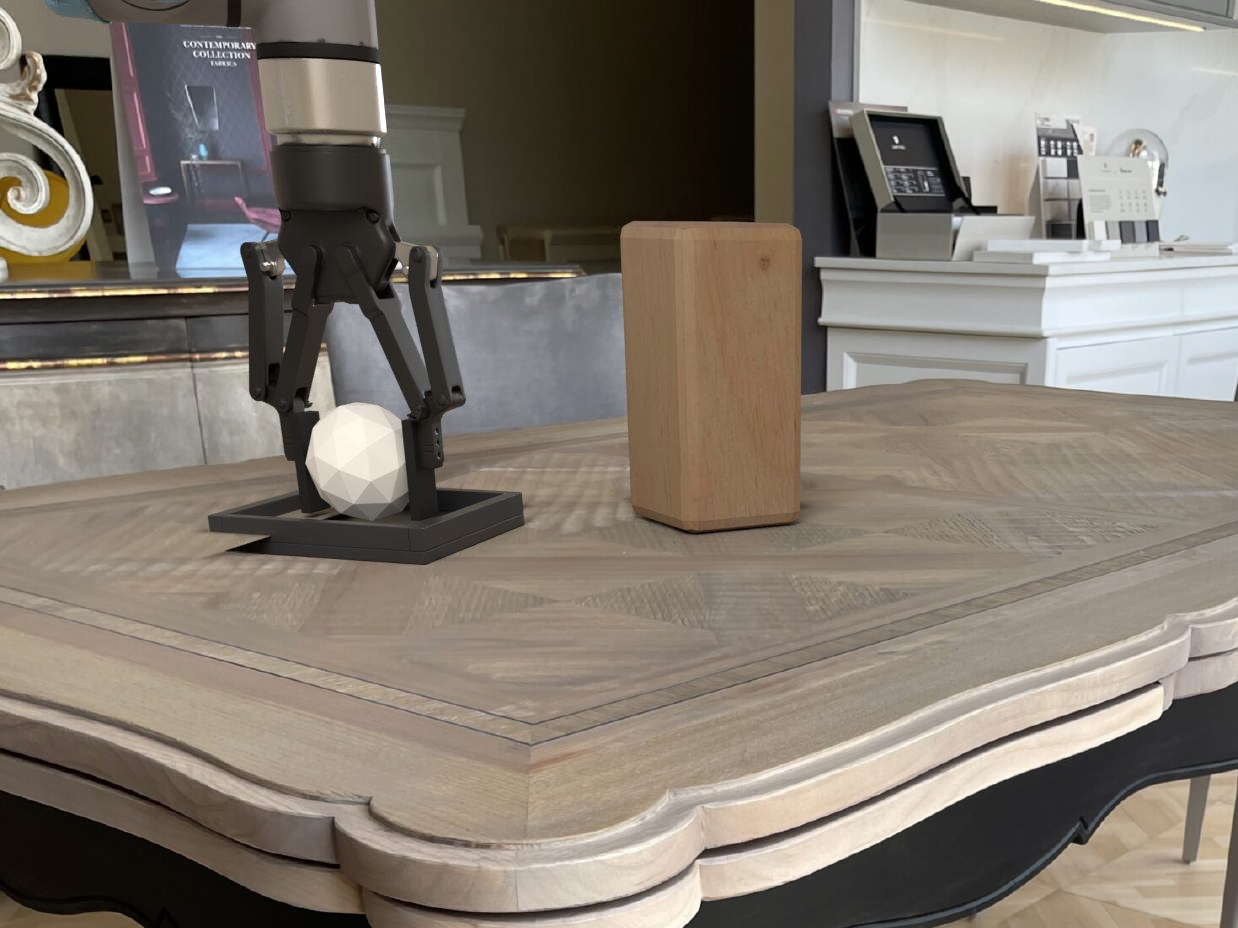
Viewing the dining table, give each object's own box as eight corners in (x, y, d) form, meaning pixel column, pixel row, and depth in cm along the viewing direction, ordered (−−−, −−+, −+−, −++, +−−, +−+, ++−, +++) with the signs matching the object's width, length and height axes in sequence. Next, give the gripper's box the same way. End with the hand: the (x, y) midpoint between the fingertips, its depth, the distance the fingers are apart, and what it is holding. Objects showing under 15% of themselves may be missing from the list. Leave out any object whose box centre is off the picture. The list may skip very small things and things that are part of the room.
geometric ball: (388, 552, 116) (434, 453, 116) (394, 529, 108) (443, 424, 108) (288, 498, 113) (335, 397, 114) (287, 470, 106) (338, 363, 106)
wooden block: (805, 524, 119) (808, 223, 110) (688, 536, 115) (680, 222, 105) (739, 505, 127) (736, 221, 117) (626, 515, 122) (613, 220, 112)
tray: (212, 550, 108) (206, 515, 107) (332, 512, 122) (328, 481, 121) (425, 564, 105) (421, 528, 104) (524, 524, 118) (522, 491, 117)
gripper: (501, 146, 103) (526, 514, 114) (220, 143, 107) (269, 497, 118) (449, 141, 96) (480, 531, 107) (152, 138, 101) (211, 513, 112)
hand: (370, 513), depth 113 cm, fingers closed on geometric ball, 8 cm apart
